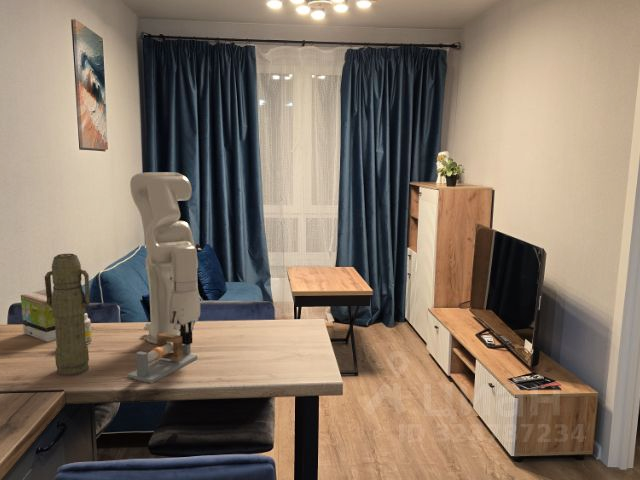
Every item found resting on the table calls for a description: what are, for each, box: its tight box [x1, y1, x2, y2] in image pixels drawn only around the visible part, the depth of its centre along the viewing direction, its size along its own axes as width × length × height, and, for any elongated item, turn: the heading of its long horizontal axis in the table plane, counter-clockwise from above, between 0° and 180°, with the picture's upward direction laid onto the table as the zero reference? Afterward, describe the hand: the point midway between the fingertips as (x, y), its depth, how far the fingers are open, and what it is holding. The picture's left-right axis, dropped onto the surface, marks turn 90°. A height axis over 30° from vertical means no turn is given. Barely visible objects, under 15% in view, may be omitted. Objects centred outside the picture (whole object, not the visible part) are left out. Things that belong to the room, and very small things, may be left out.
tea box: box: [20, 289, 56, 343], centre depth 186 cm, size 15×10×15 cm, turn 58°
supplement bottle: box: [84, 312, 92, 345], centre depth 179 cm, size 6×6×10 cm
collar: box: [156, 332, 183, 361], centre depth 161 cm, size 8×2×7 cm, turn 66°
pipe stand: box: [127, 333, 198, 384], centre depth 159 cm, size 9×21×8 cm, turn 156°
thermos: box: [44, 253, 91, 377], centre depth 154 cm, size 9×12×35 cm
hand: (186, 343), depth 163 cm, fingers closed
